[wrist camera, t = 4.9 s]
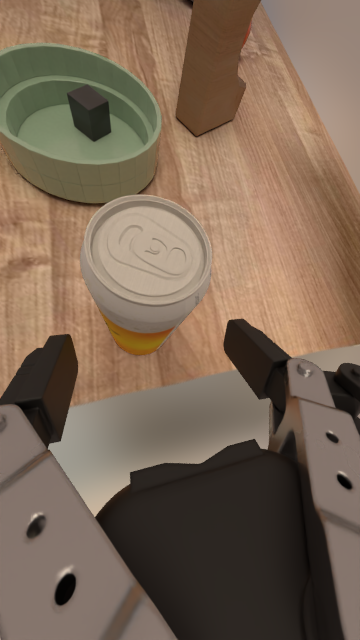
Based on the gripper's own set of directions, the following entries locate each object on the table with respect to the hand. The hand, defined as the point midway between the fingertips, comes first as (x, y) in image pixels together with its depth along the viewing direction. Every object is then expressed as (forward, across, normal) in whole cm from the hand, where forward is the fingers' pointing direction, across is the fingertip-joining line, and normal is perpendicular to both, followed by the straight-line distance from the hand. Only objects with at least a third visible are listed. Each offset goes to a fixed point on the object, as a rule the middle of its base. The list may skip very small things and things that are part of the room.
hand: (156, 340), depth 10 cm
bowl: (+29, +5, -13) cm, 32 cm away
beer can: (+11, 0, +6) cm, 13 cm away
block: (+31, +4, -15) cm, 35 cm away
